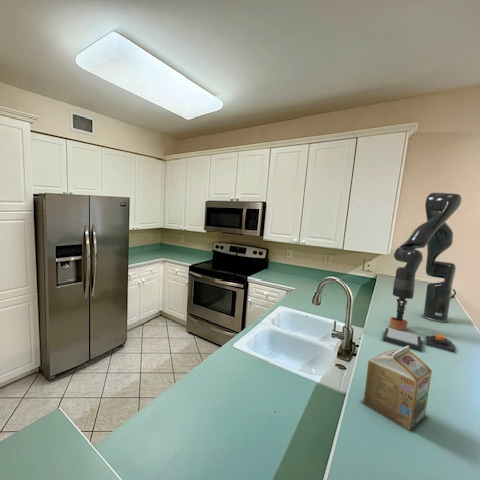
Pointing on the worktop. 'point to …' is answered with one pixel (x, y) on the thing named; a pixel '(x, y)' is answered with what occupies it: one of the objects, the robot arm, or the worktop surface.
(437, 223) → the robot arm
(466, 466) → the worktop surface
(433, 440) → the worktop surface
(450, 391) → the worktop surface
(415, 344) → the scale
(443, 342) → the block
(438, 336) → the tare button
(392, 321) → the copper cup
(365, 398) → the milk carton
